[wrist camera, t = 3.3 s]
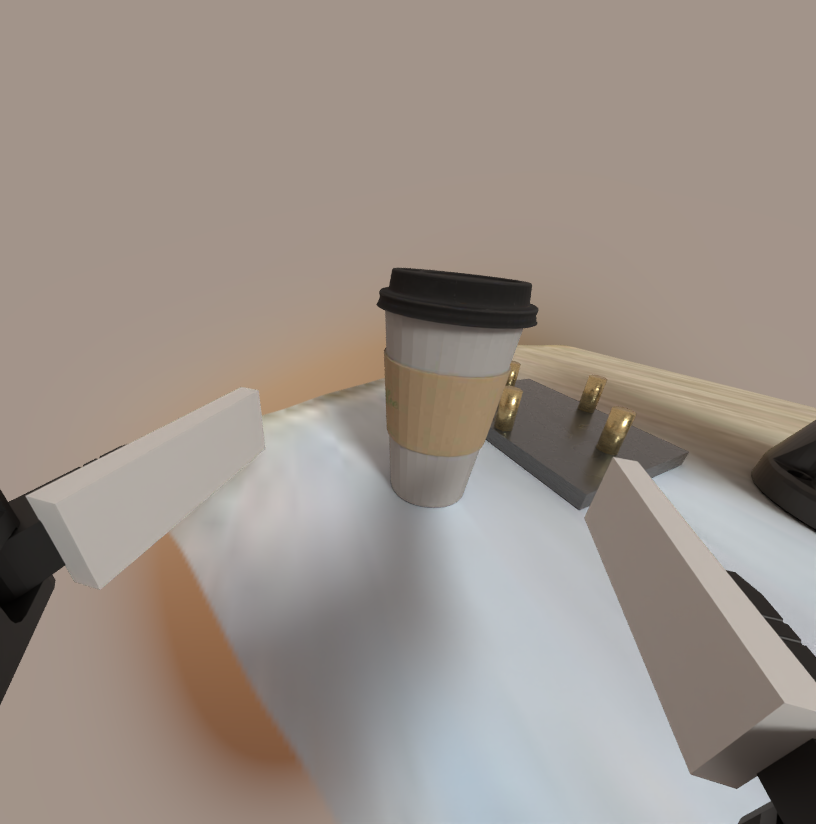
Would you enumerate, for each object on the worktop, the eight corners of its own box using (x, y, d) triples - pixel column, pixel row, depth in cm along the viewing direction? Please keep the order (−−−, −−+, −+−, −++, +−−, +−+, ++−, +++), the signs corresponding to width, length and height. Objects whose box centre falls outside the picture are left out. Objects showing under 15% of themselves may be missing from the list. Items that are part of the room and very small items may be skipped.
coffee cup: (353, 458, 26) (358, 262, 20) (449, 442, 30) (479, 274, 24) (395, 545, 19) (424, 277, 12) (515, 510, 23) (588, 290, 16)
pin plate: (681, 464, 31) (710, 414, 28) (579, 510, 23) (607, 448, 21) (526, 388, 46) (536, 351, 44) (435, 401, 39) (441, 358, 36)
